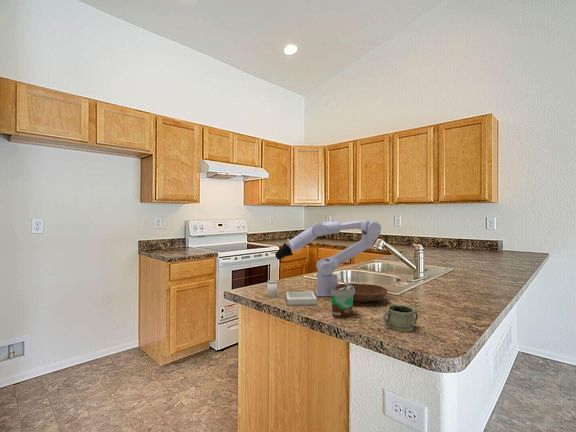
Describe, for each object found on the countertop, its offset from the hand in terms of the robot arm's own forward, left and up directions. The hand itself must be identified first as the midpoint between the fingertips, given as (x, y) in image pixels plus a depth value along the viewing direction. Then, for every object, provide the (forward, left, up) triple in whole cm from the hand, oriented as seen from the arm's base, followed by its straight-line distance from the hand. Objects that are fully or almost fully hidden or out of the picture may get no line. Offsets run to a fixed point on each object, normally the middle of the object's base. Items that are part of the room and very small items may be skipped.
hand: (276, 256), depth 138 cm
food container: (-25, +27, -18) cm, 41 cm away
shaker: (+2, +1, -18) cm, 18 cm away
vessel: (-40, +40, -18) cm, 60 cm away
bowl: (-36, +9, -18) cm, 41 cm away
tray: (-10, +9, -18) cm, 22 cm away
